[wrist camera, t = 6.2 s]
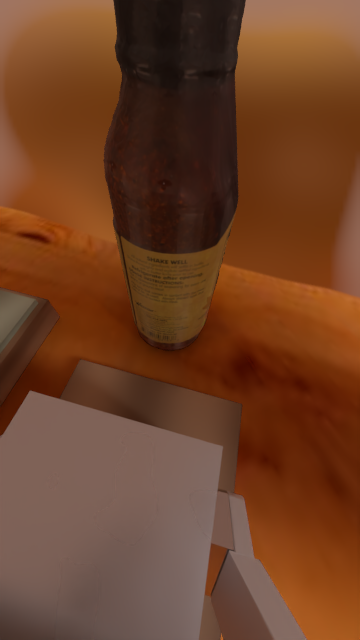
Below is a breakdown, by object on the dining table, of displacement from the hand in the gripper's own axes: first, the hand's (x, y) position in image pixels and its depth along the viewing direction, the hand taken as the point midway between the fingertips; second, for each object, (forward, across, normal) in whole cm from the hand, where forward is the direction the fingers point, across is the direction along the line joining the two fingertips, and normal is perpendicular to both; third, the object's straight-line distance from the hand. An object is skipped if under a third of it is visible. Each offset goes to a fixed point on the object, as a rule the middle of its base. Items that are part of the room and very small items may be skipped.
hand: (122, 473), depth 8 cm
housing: (+3, 0, +4) cm, 5 cm away
